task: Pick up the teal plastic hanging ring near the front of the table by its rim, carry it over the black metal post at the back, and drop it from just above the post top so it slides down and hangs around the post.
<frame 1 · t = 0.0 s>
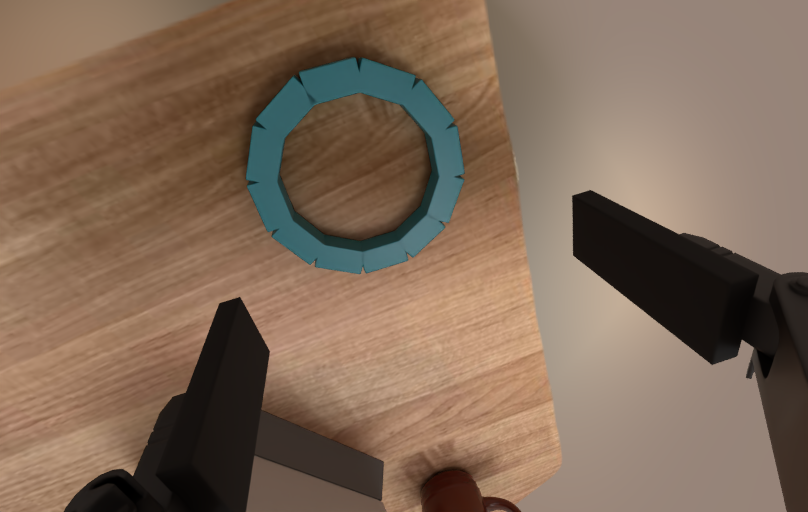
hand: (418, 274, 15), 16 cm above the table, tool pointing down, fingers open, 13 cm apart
ring: (358, 172, 29), on the table
mug: (457, 479, 50), on the table
alarm clock: (279, 461, 42), on the table
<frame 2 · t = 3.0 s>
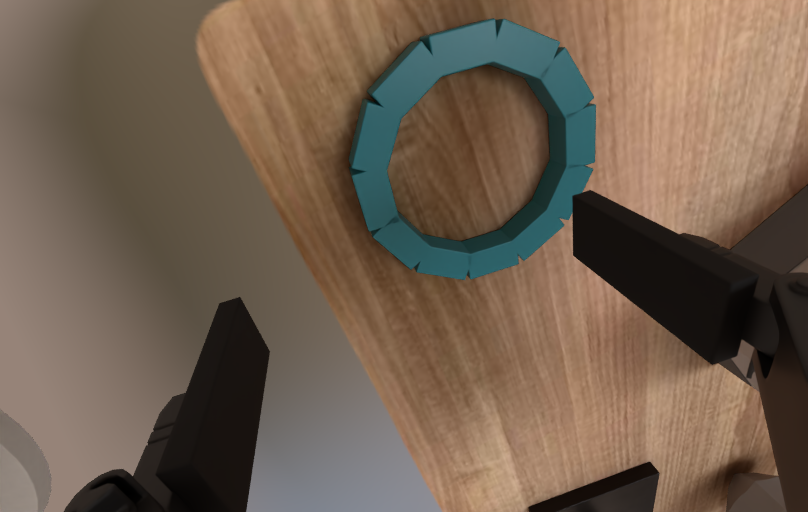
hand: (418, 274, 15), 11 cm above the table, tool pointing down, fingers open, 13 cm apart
ring: (469, 160, 25), on the table
bottle: (733, 472, 54), on the table
alarm clock: (782, 253, 36), on the table
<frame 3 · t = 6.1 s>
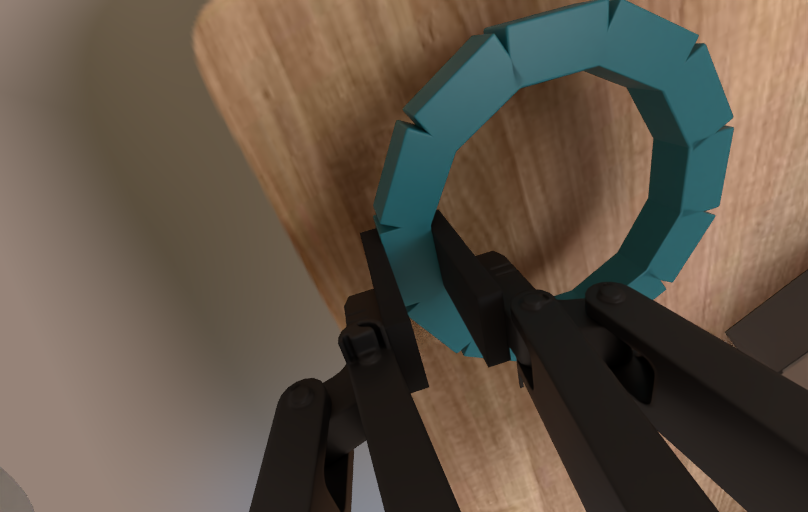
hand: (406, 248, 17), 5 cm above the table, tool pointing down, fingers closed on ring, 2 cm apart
ring: (540, 203, 18), point 4 cm above the table, touching gripper
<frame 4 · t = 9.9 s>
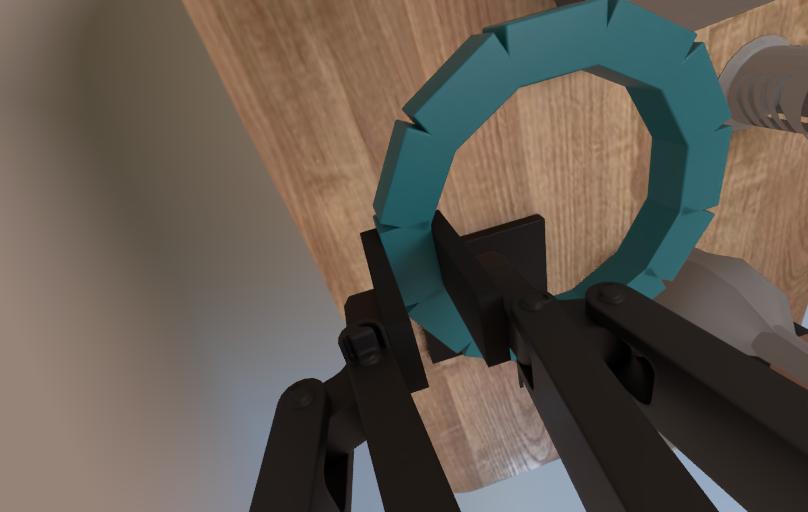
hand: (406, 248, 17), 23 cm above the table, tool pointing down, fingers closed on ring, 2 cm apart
ring: (539, 202, 18), point 22 cm above the table, touching gripper
bottle: (639, 258, 51), on the table
travel mug: (734, 317, 61), on the table
french press: (752, 92, 43), on the table
post: (480, 289, 48), on the table
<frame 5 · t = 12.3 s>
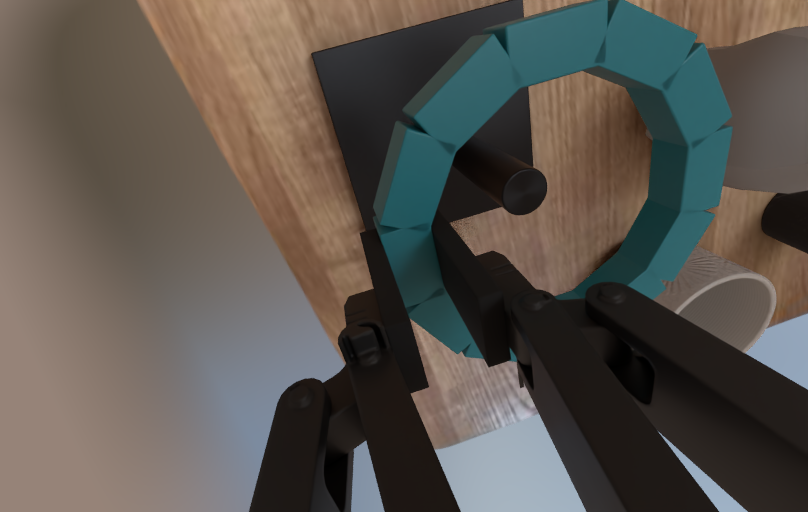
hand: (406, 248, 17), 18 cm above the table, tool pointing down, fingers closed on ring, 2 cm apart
ring: (539, 203, 18), point 18 cm above the table, touching gripper
bottle: (663, 99, 36), on the table
travel mug: (786, 208, 46), on the table
planter: (630, 272, 46), on the table
post: (434, 131, 33), on the table
when the fingers open (14 cm above the table, at t = 14.2 s): ring drops 12 cm, resting on post.
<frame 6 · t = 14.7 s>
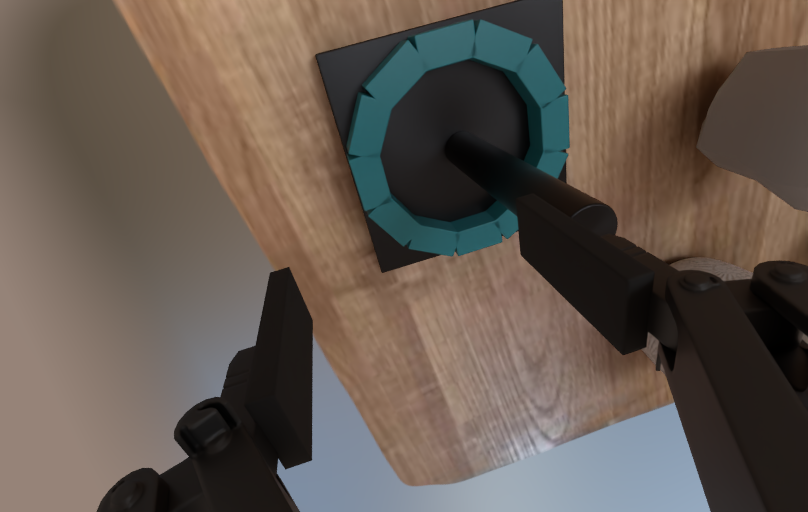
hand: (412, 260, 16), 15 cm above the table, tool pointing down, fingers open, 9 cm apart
ring: (455, 147, 28), point 1 cm above the table, touching post
bottle: (712, 106, 32), on the table
planter: (666, 296, 41), on the table
post: (454, 144, 29), on the table
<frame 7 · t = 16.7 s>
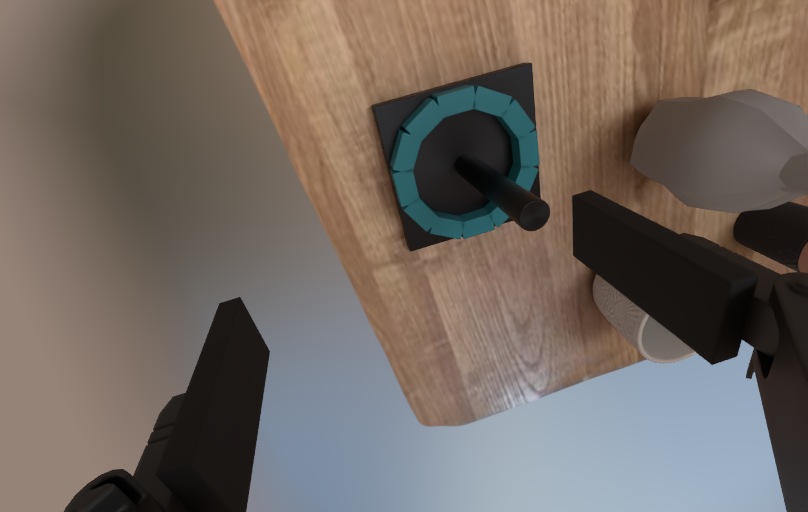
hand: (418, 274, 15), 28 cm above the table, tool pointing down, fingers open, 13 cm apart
ring: (462, 164, 41), point 1 cm above the table, touching post
bottle: (645, 134, 45), on the table
travel mug: (755, 220, 54), on the table
planter: (622, 274, 54), on the table
post: (461, 161, 42), on the table
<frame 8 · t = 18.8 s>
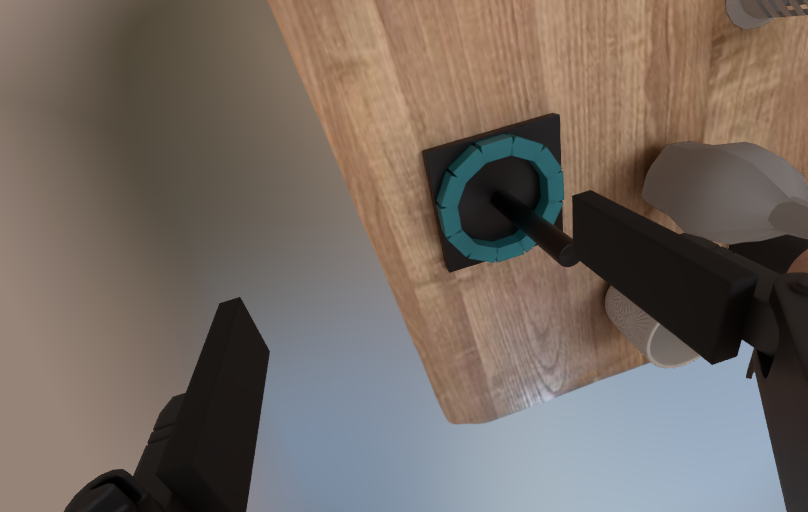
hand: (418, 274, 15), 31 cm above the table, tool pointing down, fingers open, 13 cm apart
ring: (497, 199, 47), point 1 cm above the table, touching post
bottle: (653, 168, 52), on the table
travel mug: (748, 240, 61), on the table
planter: (630, 288, 61), on the table
post: (495, 195, 49), on the table
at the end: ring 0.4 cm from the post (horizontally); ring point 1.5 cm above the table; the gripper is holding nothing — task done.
